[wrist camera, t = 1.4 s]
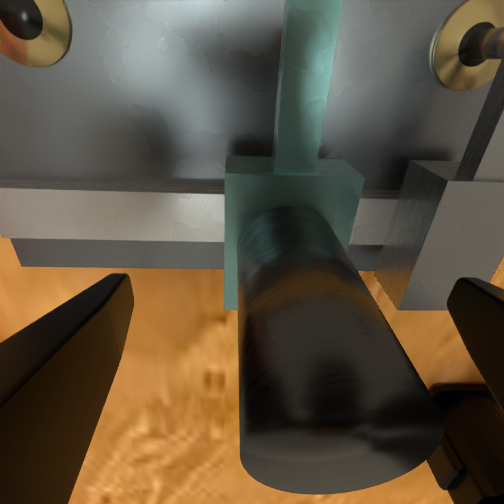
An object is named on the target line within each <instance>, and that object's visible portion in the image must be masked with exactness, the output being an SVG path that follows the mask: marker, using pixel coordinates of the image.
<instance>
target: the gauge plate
mask: <svg viewBox="0 0 504 504" xmlns="http://www.w3.org/2000/svg"><path fill="white" fill-rule="evenodd" d="M284 2H285V0H0V234H1V236H2V238H10V239H11V242H12V244H13V246H14V249H15V251H16V254H17V256H18V259H19V261H20V264H21V266H24V267H103V268H182V269H224V227H225V164H226V155H238V156H264V157H272V149H273V136H274V124H275V112H276V100H277V87H278V75H279V63H280V51H281V39H282V26H283V14H284ZM318 159H344V160H345V161H346V162H347V163H348V164H349V165H351V166H352V167H353V168H354V169H355V170H356V171H357V172H359V173H360V174H361V175H362V176H363V177H364V178H365V180H364V184H363V188H362V192H361V196H360V201H359V205H358V209H357V213H356V217H355V221H354V225H353V229H352V233H351V237H350V241H349V245H348V249H347V254H348V256H349V258H350V260H351V261H352V263H353V265H354V266H355V268H356V270H357V271H375V273H374V275H375V277H376V278H377V280H378V281H379V283H380V284H381V286H382V287H383V289H384V290H385V292H386V293H387V295H388V296H389V298H390V299H391V301H392V302H393V304H394V305H395V307H396V308H397V310H448V308H447V299H448V297H449V295H450V293H451V291H452V289H453V286H454V284H455V282H456V281H457V280H458V279H459V278H461V277H475V278H479V279H481V280H483V281H486V282H488V283H489V282H490V280H491V278H492V276H493V275H494V273H495V271H496V269H497V268H498V266H499V264H500V262H501V260H502V259H503V257H504V0H343V3H342V10H341V16H340V22H339V29H338V35H337V41H336V47H335V54H334V60H333V66H332V73H331V79H330V85H329V91H328V98H327V104H326V110H325V117H324V123H323V129H322V135H321V142H320V148H319V154H318Z"/></svg>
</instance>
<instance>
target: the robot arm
mask: <svg viewBox="0 0 504 504" xmlns="http://www.w3.org/2000/svg"><path fill="white" fill-rule="evenodd" d="M133 307H134V296H133V291H132V285H131V280H130V277H129V275H128V274H126V273H112V274H110V275H108V276H106V277H105V278H103V279H102V280H100V281H98V282H97V283H95V284H94V285H92V286H90V287H89V288H87V289H86V290H84V291H82V292H81V293H79V294H78V295H76V296H74V297H73V298H71V299H70V300H68V301H66V302H65V303H63V304H62V305H60V306H58V307H57V308H55V309H54V310H52V311H50V312H49V313H47V314H46V315H44V316H42V317H41V318H39V319H38V320H36V321H34V322H33V323H31V324H30V325H28V326H26V327H25V328H23V329H22V330H20V331H18V332H17V333H15V334H14V335H12V336H10V337H9V338H7V339H6V340H4V341H2V342H1V343H0V504H68V502H69V499H70V497H71V494H72V491H73V489H74V486H75V483H76V480H77V478H78V475H79V472H80V470H81V467H82V464H83V461H84V459H85V456H86V453H87V451H88V448H89V445H90V442H91V440H92V437H93V434H94V432H95V429H96V426H97V423H98V421H99V418H100V415H101V413H102V410H103V407H104V404H105V402H106V399H107V396H108V394H109V391H110V388H111V385H112V383H113V380H114V377H115V375H116V372H117V369H118V366H119V363H120V360H121V357H122V353H123V350H124V345H125V341H126V337H127V333H128V329H129V324H130V320H131V316H132V312H133ZM447 308H448V311H449V313H450V315H451V317H452V319H453V321H454V323H455V325H456V327H457V330H458V332H459V334H460V336H461V338H462V340H463V342H464V344H465V346H466V349H467V350H468V352H469V354H470V356H471V358H472V360H473V362H474V363H475V365H476V367H477V369H478V370H479V372H480V374H481V375H482V377H483V379H484V380H485V382H486V384H487V385H448V386H436V387H434V388H432V390H431V391H430V394H431V396H432V398H433V400H434V401H435V403H436V405H437V406H438V408H439V410H440V411H441V413H442V415H443V418H444V421H445V433H444V436H443V439H442V441H441V443H440V445H439V446H438V448H437V449H436V450H435V451H434V453H433V454H432V455H431V456H430V457H429V458H428V459H427V462H428V464H429V466H430V468H431V470H432V473H433V475H434V477H435V479H436V481H437V483H438V485H439V486H440V487H441V488H442V489H443V490H447V491H448V493H449V495H450V497H451V499H452V501H453V503H454V504H504V289H502V288H500V287H497V286H495V285H493V284H490V283H488V282H486V281H483V280H481V279H479V278H475V277H461V278H459V279H458V280H457V281H456V282H455V284H454V286H453V289H452V291H451V293H450V295H449V297H448V299H447Z"/></svg>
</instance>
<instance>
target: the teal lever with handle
mask: <svg viewBox="0 0 504 504" xmlns="http://www.w3.org/2000/svg"><path fill="white" fill-rule="evenodd" d="M342 3H343V0H285V2H284V14H283V26H282V39H281V51H280V63H279V75H278V87H277V100H276V112H275V124H274V136H273V149H272V157H264V156H238V155H226V164H225V227H224V310H238V354H239V421H240V459H241V462H242V465H243V467H244V468H245V470H246V471H247V473H248V474H249V475H250V476H251V477H253V478H254V479H256V480H257V481H258V482H260V483H262V484H264V485H266V486H269V487H271V488H274V489H278V490H281V491H286V492H291V493H299V494H313V495H316V494H337V493H345V492H351V491H356V490H361V489H365V488H369V487H373V486H376V485H379V484H382V483H385V482H388V481H390V480H393V479H395V478H397V477H400V476H402V475H403V474H405V473H407V472H409V471H411V470H412V469H414V468H416V467H417V466H419V465H420V464H421V463H423V462H424V461H425V460H427V459H428V458H429V457H430V456H431V455H432V454H433V453H434V451H435V450H436V449H437V448H438V446H439V445H440V443H441V441H442V439H443V436H444V433H445V421H444V418H443V415H442V413H441V411H440V410H439V408H438V406H437V405H436V403H435V401H434V400H433V398H432V396H431V394H430V393H429V391H428V389H427V388H426V386H425V384H424V383H423V381H422V379H421V378H420V376H419V374H418V373H417V371H416V369H415V368H414V366H413V364H412V362H411V361H410V359H409V357H408V356H407V354H406V352H405V351H404V349H403V347H402V346H401V344H400V342H399V341H398V339H397V337H396V335H395V334H394V332H393V330H392V329H391V327H390V325H389V324H388V322H387V320H386V319H385V317H384V315H383V314H382V312H381V310H380V308H379V307H378V305H377V303H376V302H375V300H374V298H373V297H372V295H371V293H370V292H369V290H368V288H367V287H366V285H365V283H364V281H363V280H362V278H361V276H360V275H359V273H358V271H357V270H356V268H355V266H354V265H353V263H352V261H351V260H350V258H349V256H348V254H347V249H348V245H349V241H350V237H351V233H352V229H353V225H354V221H355V217H356V213H357V209H358V205H359V201H360V196H361V192H362V188H363V184H364V180H365V178H364V177H363V176H362V175H361V174H360V173H359V172H357V171H356V170H355V169H354V168H353V167H352V166H351V165H349V164H348V163H347V162H346V161H345V160H344V159H318V154H319V148H320V142H321V135H322V129H323V123H324V117H325V110H326V104H327V98H328V91H329V85H330V79H331V73H332V66H333V60H334V54H335V47H336V41H337V35H338V29H339V22H340V16H341V10H342Z"/></svg>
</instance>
